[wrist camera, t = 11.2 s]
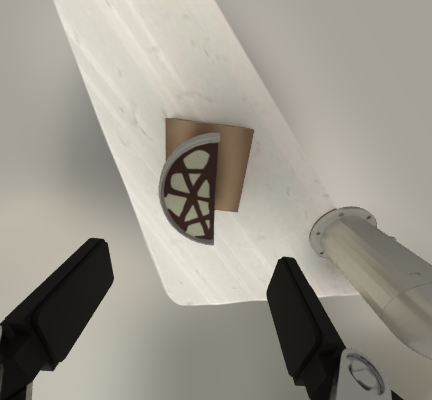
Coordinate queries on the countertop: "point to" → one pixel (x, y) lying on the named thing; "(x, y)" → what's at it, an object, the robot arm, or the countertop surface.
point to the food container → (191, 187)
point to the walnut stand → (227, 156)
